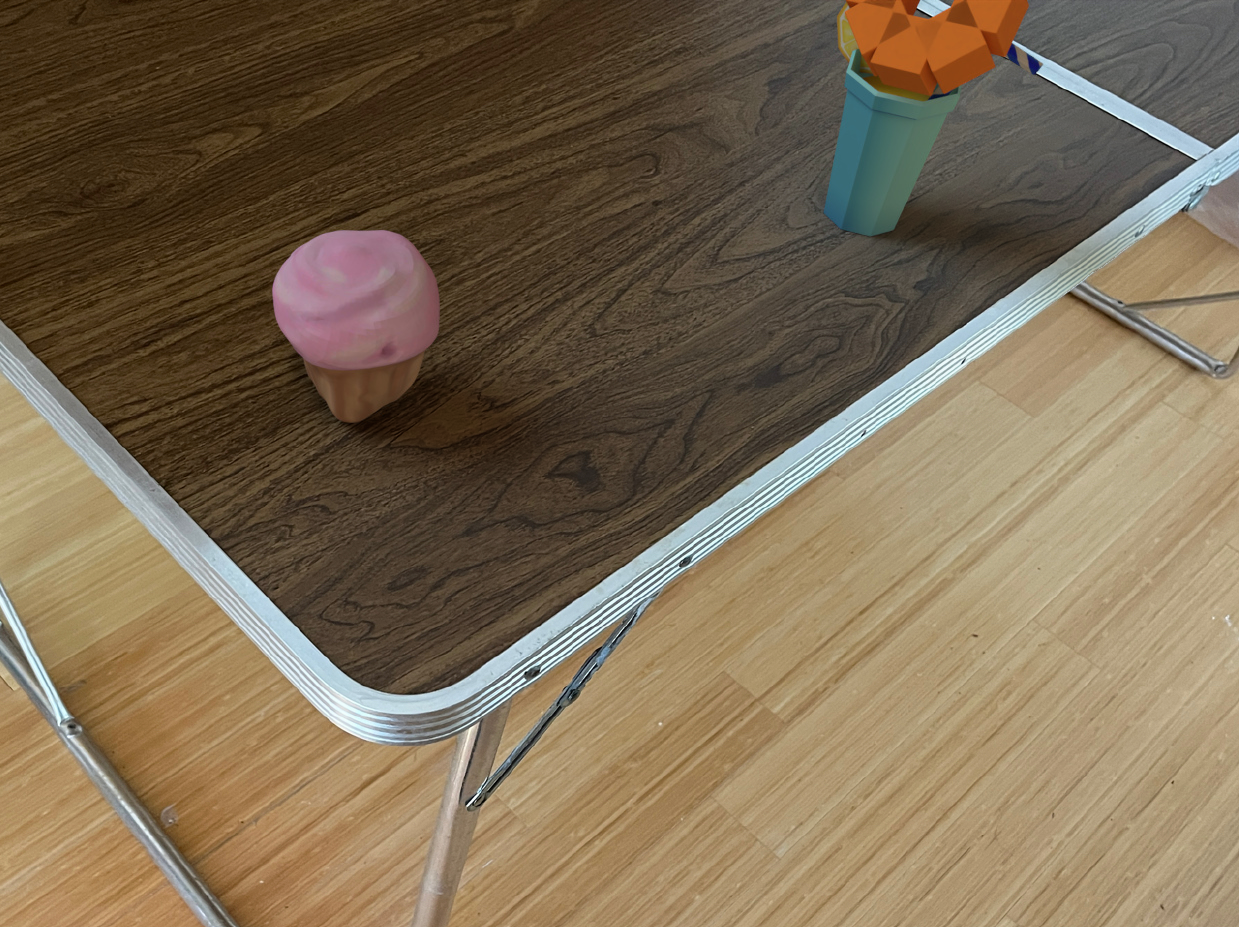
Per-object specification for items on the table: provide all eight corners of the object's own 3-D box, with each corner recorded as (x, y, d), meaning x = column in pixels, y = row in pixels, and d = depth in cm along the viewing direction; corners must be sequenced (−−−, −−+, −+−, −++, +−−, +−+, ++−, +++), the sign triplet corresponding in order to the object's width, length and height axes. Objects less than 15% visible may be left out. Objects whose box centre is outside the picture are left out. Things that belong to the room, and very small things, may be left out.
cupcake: (257, 369, 71) (240, 223, 64) (392, 324, 75) (390, 181, 68) (327, 468, 67) (318, 323, 59) (467, 415, 70) (474, 272, 63)
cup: (986, 239, 86) (1073, 32, 75) (934, 288, 82) (1018, 77, 71) (815, 156, 91) (872, -49, 80) (757, 199, 87) (809, -12, 76)
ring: (1053, -47, 73) (1046, -76, 70) (981, 109, 74) (971, 87, 71) (902, -75, 77) (889, -103, 74) (836, 72, 78) (821, 50, 75)
